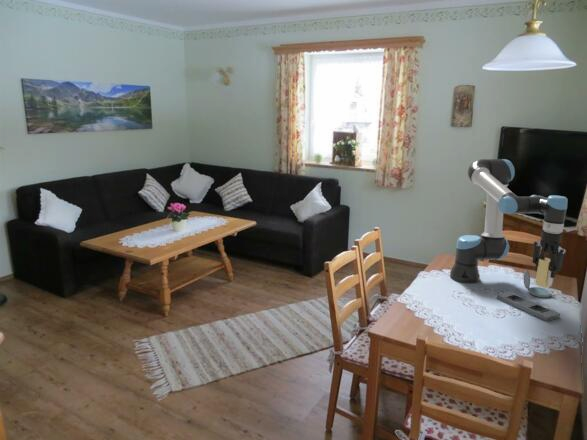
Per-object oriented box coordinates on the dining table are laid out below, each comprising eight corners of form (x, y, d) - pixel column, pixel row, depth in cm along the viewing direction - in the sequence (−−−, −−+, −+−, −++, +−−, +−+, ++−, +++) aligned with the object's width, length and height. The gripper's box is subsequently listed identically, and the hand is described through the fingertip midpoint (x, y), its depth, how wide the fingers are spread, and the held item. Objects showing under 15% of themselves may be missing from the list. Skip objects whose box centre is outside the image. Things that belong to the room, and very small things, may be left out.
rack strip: (496, 298, 209) (496, 294, 208) (508, 295, 213) (509, 291, 212) (546, 321, 186) (547, 317, 186) (559, 317, 190) (560, 313, 189)
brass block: (535, 284, 192) (539, 258, 189) (541, 282, 194) (546, 257, 191) (544, 287, 188) (549, 262, 185) (551, 286, 190) (555, 260, 187)
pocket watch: (528, 267, 221) (561, 274, 211) (524, 286, 223) (557, 295, 214) (522, 272, 214) (556, 280, 204) (519, 292, 216) (553, 301, 207)
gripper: (527, 227, 191) (520, 276, 196) (566, 237, 175) (557, 290, 181) (539, 225, 194) (531, 273, 200) (578, 235, 178) (568, 287, 184)
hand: (543, 281), depth 190 cm, fingers closed on brass block, 4 cm apart
